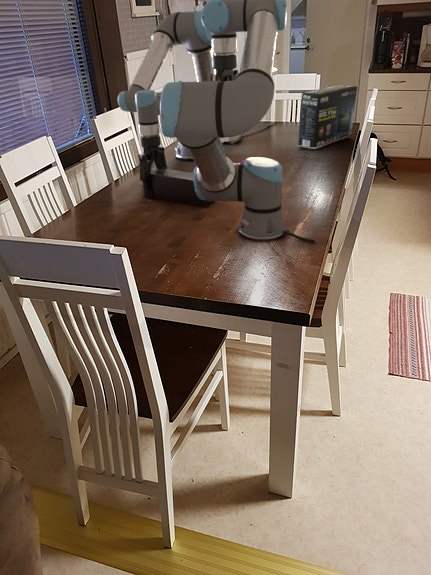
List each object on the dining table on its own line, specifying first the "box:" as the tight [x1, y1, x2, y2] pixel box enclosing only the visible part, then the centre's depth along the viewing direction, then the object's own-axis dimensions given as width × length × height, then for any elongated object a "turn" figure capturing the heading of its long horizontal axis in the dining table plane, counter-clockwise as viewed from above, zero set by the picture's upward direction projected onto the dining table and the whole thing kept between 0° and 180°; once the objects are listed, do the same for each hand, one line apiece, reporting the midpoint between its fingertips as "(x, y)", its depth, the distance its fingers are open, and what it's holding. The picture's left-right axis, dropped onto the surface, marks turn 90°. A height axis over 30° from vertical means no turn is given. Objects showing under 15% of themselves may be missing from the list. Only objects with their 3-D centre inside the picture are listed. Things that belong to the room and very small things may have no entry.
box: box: [142, 166, 215, 208], centre depth 177 cm, size 28×8×10 cm, turn 60°
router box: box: [297, 84, 358, 151], centre depth 238 cm, size 36×11×27 cm, turn 134°
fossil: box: [220, 133, 245, 145], centre depth 256 cm, size 18×11×15 cm
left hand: (156, 193), depth 184 cm, fingers open, 8 cm apart
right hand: (225, 128), depth 147 cm, fingers open, 13 cm apart
